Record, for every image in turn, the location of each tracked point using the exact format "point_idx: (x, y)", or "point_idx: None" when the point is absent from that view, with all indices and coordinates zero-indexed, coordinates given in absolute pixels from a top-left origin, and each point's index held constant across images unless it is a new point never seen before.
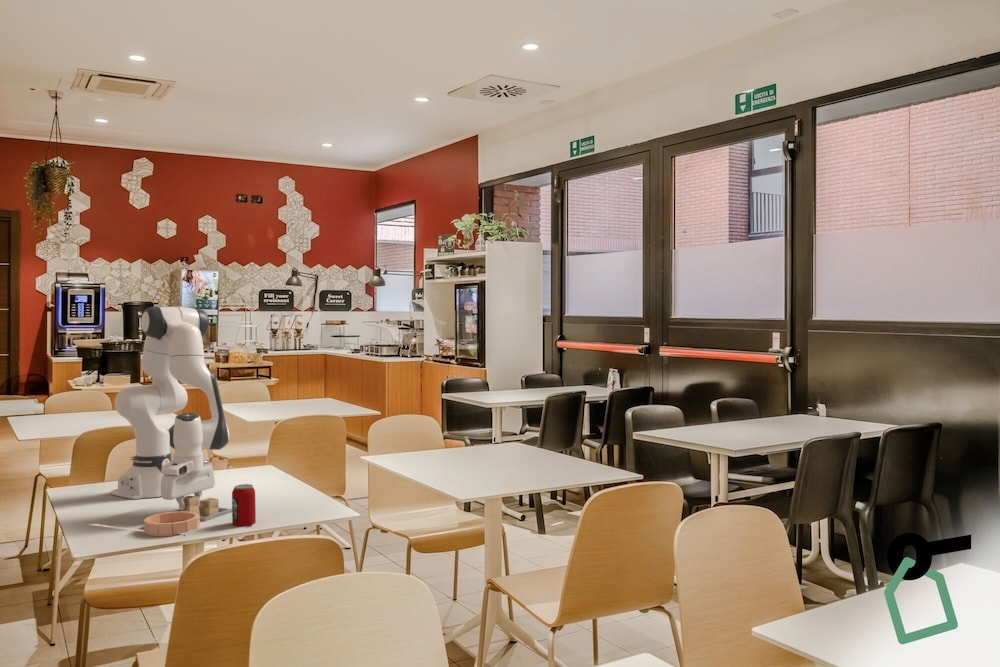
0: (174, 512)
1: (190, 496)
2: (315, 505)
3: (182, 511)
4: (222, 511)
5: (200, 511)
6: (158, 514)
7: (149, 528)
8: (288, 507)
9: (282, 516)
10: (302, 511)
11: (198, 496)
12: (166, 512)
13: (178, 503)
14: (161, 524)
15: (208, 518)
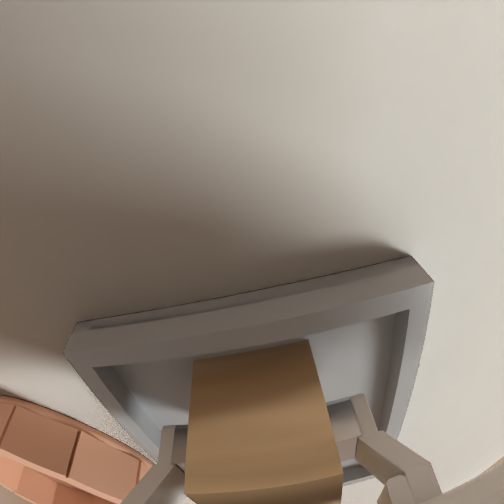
0: (78, 487)
1: (315, 494)
2: (496, 453)
3: (120, 500)
4: None
5: None
6: (1, 453)
7: None
8: (481, 450)
9: None
10: (441, 483)
11: (380, 479)
12: (39, 465)
13: (147, 473)
14: (20, 496)
15: None
